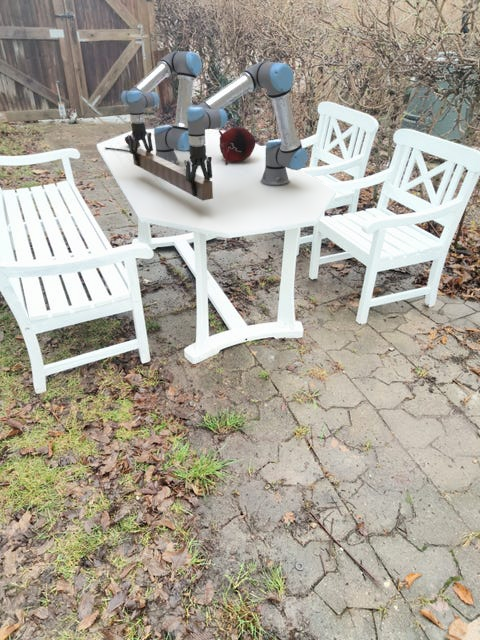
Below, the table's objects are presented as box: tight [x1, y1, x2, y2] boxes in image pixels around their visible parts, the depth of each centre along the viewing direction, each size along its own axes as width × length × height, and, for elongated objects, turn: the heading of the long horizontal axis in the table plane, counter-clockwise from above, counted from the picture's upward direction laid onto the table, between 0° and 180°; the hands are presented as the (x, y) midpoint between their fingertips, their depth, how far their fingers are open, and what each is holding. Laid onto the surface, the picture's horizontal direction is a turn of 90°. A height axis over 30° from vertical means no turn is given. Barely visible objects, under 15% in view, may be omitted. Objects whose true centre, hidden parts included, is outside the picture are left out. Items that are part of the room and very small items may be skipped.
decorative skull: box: [218, 126, 257, 166], centre depth 295 cm, size 21×24×25 cm
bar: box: [132, 148, 214, 202], centre depth 237 cm, size 77×6×8 cm, turn 35°
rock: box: [124, 135, 141, 148], centre depth 329 cm, size 12×9×10 cm
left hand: (143, 164), depth 260 cm, fingers closed on bar, 6 cm apart
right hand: (200, 194), depth 217 cm, fingers closed on bar, 6 cm apart
